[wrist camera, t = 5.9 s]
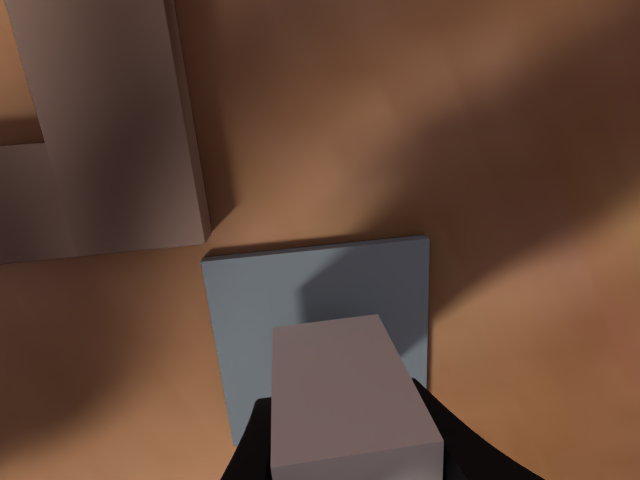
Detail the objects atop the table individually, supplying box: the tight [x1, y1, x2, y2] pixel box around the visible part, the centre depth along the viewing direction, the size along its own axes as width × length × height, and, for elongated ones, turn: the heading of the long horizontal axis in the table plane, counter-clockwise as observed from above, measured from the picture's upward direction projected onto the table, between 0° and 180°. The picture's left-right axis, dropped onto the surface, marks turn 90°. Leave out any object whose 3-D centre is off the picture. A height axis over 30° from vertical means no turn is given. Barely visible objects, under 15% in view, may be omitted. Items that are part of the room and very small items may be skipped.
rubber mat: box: [201, 235, 430, 446], centre depth 17 cm, size 9×9×1 cm
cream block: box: [271, 314, 444, 480], centre depth 12 cm, size 4×4×6 cm
